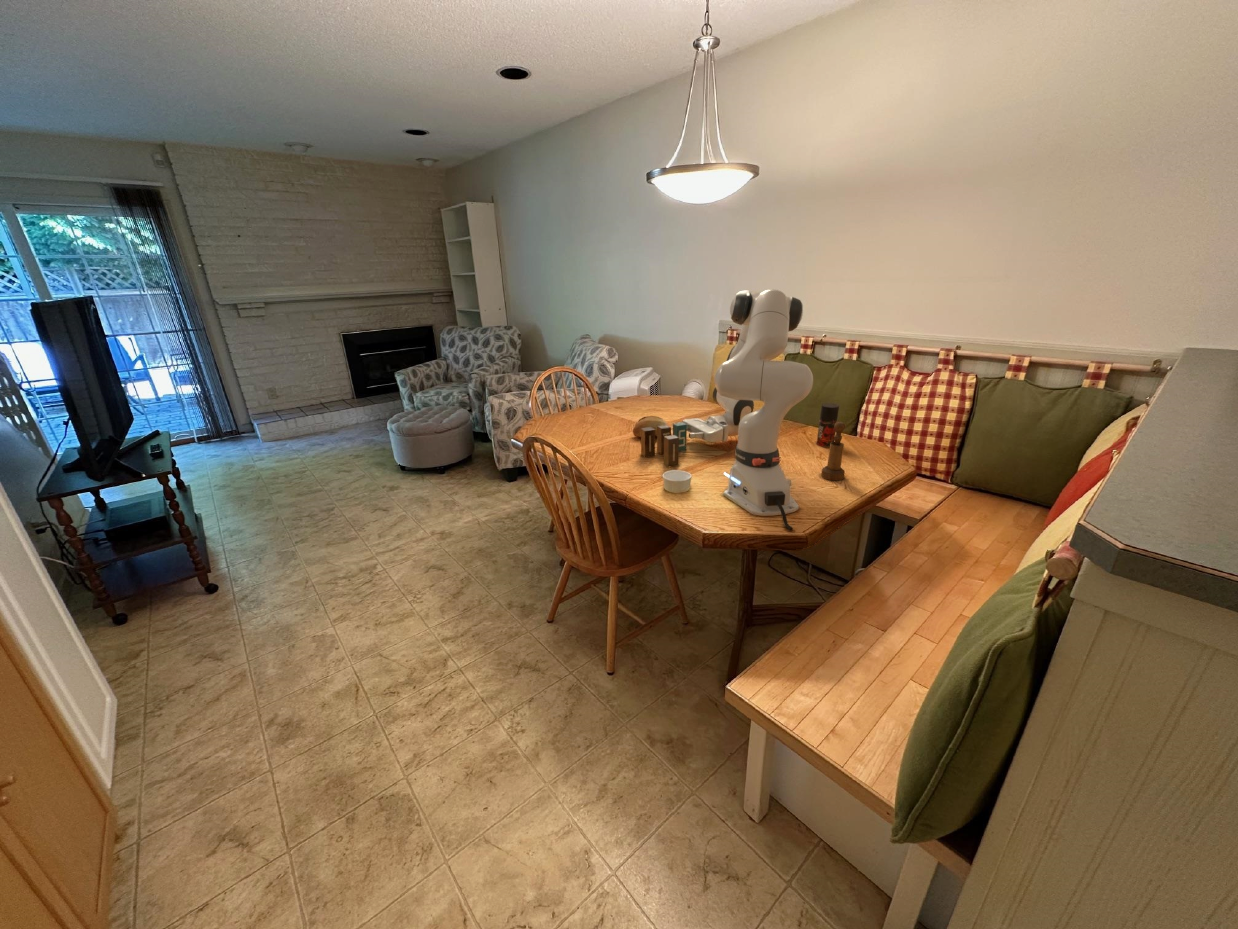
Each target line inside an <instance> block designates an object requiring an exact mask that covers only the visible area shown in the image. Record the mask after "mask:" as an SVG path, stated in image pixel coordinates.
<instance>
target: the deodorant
mask: <svg viewBox="0 0 1238 929" xmlns="http://www.w3.org/2000/svg"><path fill="white" fill-rule="evenodd" d="M839 411H840V405H839V404H837V403H829V402H828V403H822V404H821V407H820V414H819V415H820V416H819V422H818V430H817V436H816V437H817V438H816V445H817V446H819V447H823V448H830V443H831V442H835V441H834V436H835V435H836V431H835V429H834V425H835V423H837V422H838V418H839Z"/></svg>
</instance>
